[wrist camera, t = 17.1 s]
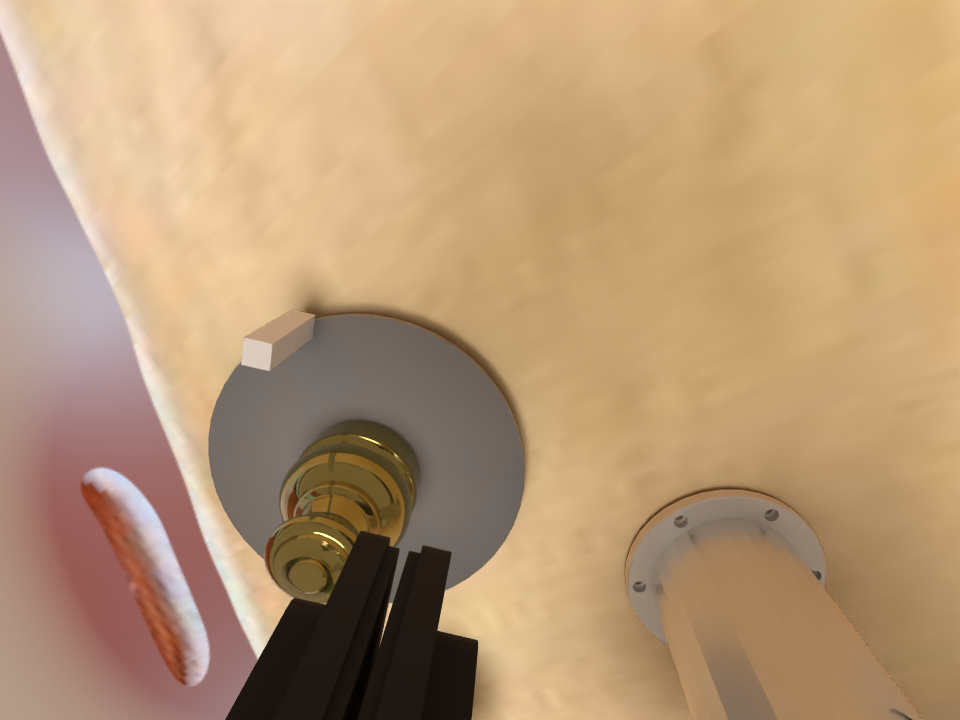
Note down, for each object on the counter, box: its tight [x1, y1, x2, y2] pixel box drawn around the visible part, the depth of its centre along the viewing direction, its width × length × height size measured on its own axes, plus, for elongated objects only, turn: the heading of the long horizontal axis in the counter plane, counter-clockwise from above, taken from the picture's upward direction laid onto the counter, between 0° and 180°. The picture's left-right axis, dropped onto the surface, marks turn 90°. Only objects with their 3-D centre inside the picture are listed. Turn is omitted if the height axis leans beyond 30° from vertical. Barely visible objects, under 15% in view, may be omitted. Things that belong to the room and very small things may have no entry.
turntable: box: [209, 310, 524, 603], centre depth 33 cm, size 20×20×7 cm
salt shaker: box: [264, 421, 420, 605], centre depth 31 cm, size 7×7×10 cm
